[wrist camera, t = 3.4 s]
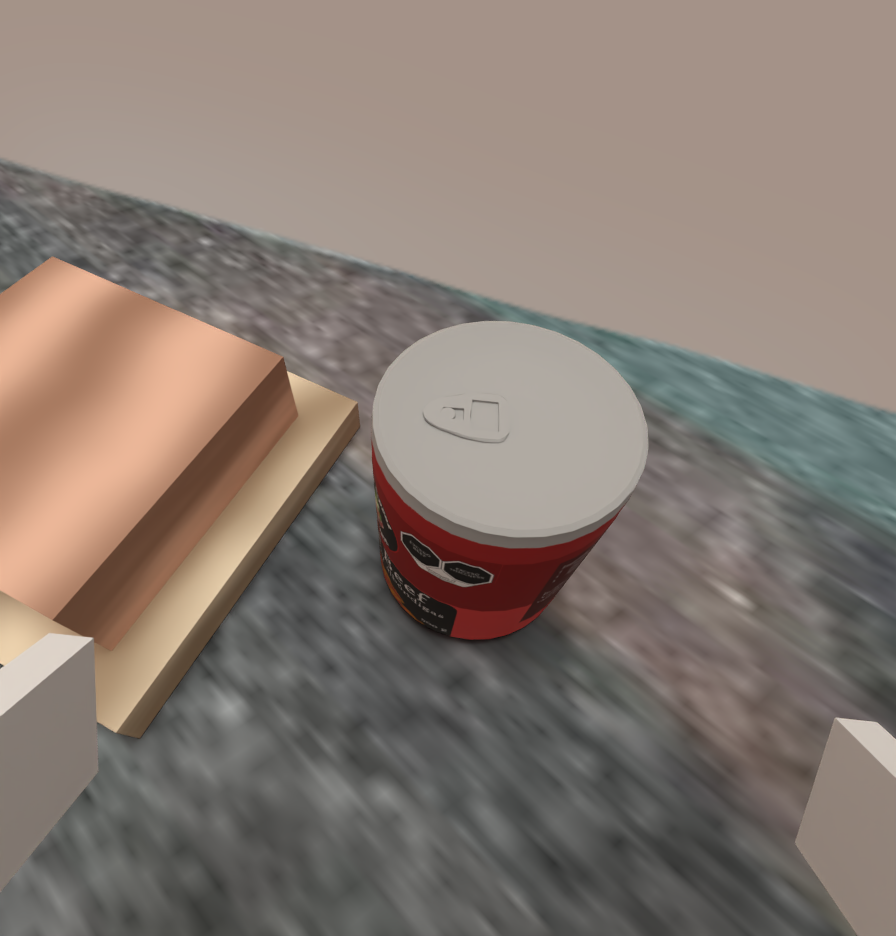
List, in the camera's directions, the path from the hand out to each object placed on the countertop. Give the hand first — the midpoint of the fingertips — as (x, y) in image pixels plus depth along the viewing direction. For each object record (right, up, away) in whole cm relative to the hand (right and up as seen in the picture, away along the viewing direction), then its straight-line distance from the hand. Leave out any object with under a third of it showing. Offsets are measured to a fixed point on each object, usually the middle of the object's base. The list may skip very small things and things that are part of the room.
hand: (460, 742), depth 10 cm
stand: (-15, +4, +16) cm, 22 cm away
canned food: (+1, +1, +15) cm, 15 cm away
